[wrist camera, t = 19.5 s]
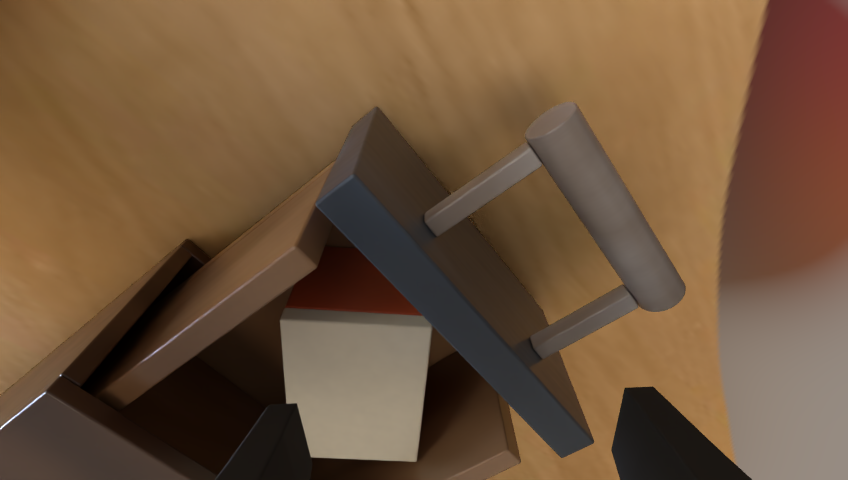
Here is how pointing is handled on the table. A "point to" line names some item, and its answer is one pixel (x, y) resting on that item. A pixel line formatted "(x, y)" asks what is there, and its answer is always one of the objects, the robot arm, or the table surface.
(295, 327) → the carton
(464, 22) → the table surface
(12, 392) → the cabinet
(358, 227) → the drawer
